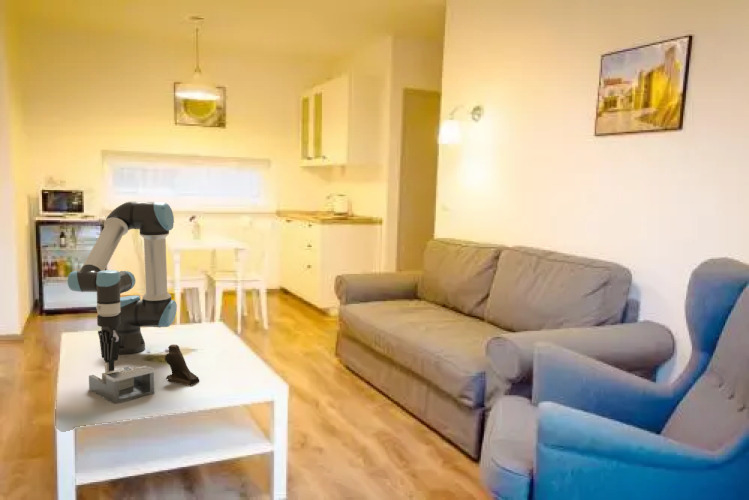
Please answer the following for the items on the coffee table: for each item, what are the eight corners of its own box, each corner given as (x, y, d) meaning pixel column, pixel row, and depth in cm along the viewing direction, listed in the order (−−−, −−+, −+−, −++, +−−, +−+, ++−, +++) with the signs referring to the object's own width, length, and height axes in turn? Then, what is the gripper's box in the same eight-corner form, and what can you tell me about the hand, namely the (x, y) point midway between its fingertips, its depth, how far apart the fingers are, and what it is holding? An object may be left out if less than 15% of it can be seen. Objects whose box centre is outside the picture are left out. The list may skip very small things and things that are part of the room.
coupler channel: (89, 389, 203) (88, 365, 202) (127, 380, 214) (127, 357, 213) (114, 403, 191) (113, 378, 190) (154, 393, 202) (153, 368, 201)
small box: (101, 387, 203) (101, 373, 202) (122, 381, 209) (122, 367, 209) (113, 392, 198) (113, 377, 198) (134, 386, 205) (134, 372, 204)
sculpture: (172, 376, 220) (172, 342, 218) (200, 381, 215) (199, 346, 213) (162, 380, 215) (161, 346, 213) (189, 386, 210) (189, 350, 208)
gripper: (90, 312, 206) (91, 376, 208) (106, 318, 197) (107, 385, 200) (111, 309, 211) (112, 372, 214) (127, 315, 203) (128, 380, 206)
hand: (110, 378), depth 207 cm, fingers closed
